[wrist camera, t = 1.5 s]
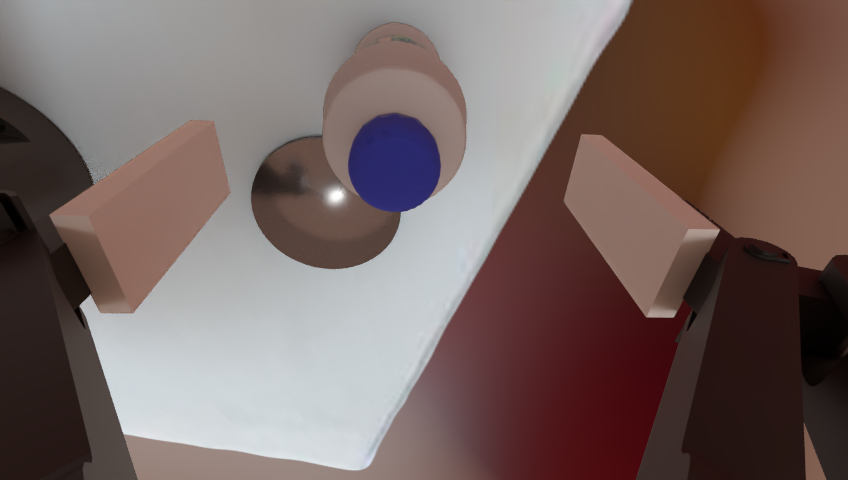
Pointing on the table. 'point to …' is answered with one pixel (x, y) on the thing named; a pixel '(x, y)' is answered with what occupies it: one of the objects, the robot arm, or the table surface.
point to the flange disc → (316, 210)
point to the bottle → (394, 120)
